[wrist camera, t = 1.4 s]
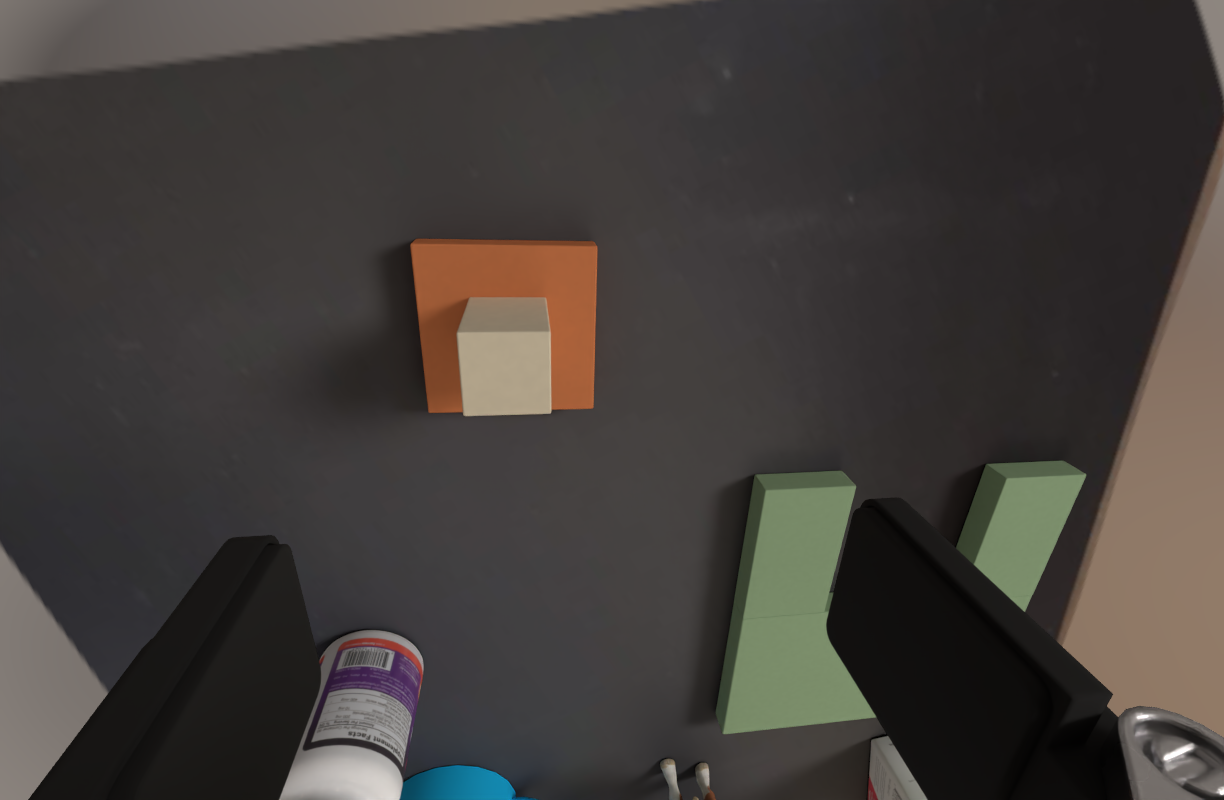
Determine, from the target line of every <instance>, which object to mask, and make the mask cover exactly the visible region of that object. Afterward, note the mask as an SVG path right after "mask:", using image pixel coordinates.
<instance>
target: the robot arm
mask: <svg viewBox="0 0 1224 800" xmlns="http://www.w3.org/2000/svg"><path fill="white" fill-rule="evenodd" d="M826 630H827V635H828V638H829V641H830V643H831V645H832V646H833V648H834V650H835V651H836V653H837V654H838V656H839V658H840V659H841V661H842V662H843V664H844V666H845V667H846V669H847V671H848V672H849V674H850V675H851V677H852V679H853V680H854V682H855V683H856V685H857V687H858V688H859V690H860V692H861V693H862V695H863V696H864V698H865V700H866V701H867V703H868V704H869V706H870V708H871V709H872V711H873V713H874V714H875V716H876V717H877V719H878V721H879V722H880V724H881V725H882V727H883V729H884V730H885V732H886V734H887V735H888V737H889V738H890V740H891V742H892V743H893V745H894V746H895V748H896V750H897V751H898V753H899V755H900V756H901V758H902V759H903V761H904V763H905V764H906V766H907V767H908V769H909V771H910V772H911V774H912V776H913V777H914V779H915V780H916V782H917V784H918V785H919V787H920V788H921V790H922V792H923V793H924V795H925V797H926V798H927V800H1224V738H1223V737H1222V736H1220V735H1218V734H1217V733H1215V732H1214V731H1212V730H1210V729H1209V728H1207V727H1205V726H1204V725H1202V724H1200V723H1197V722H1195V721H1193V720H1191V719H1189V718H1186V717H1184V716H1182V715H1180V714H1177V713H1173V712H1170V711H1167V710H1163V709H1160V708H1155V707H1144V706H1137V707H1133V708H1129V709H1126V710H1125V711H1124V712H1123V713H1122V714H1121V715H1120V716H1119V717H1117V716H1116V715H1115V714H1114V713H1113V712H1112V711H1111V710H1110V709H1109V708H1108V707H1107V704H1108V702H1109V701H1110V699H1111V697H1112V695H1113V694H1112V693H1111V692H1110V691H1109V690H1108V689H1107V688H1106V687H1105V686H1104V685H1103V684H1102V683H1101V682H1100V681H1098V680H1097V679H1096V678H1095V677H1094V676H1093V675H1092V674H1091V673H1090V672H1089V671H1088V670H1087V669H1086V668H1084V667H1083V666H1082V665H1081V664H1080V663H1079V662H1078V661H1077V660H1076V659H1075V658H1074V657H1073V656H1072V655H1071V654H1069V653H1068V652H1067V651H1066V650H1065V649H1064V648H1063V647H1062V646H1061V645H1060V644H1059V643H1058V642H1057V641H1055V640H1054V639H1053V638H1052V637H1051V636H1050V635H1049V634H1048V633H1047V632H1046V631H1045V630H1044V629H1043V628H1041V627H1040V626H1039V625H1038V624H1037V623H1036V622H1035V621H1034V620H1033V619H1032V618H1031V617H1030V616H1029V615H1027V614H1026V613H1025V612H1024V611H1023V610H1022V609H1021V608H1020V607H1019V606H1018V605H1017V604H1016V603H1015V602H1013V601H1012V600H1011V599H1010V598H1009V597H1008V596H1007V595H1006V594H1005V593H1004V592H1003V591H1002V590H1001V589H999V588H998V587H997V586H996V585H995V584H994V583H993V582H992V581H991V580H990V579H989V578H988V577H987V576H986V575H984V574H983V573H982V572H981V571H980V570H979V569H978V568H977V567H976V566H975V565H974V564H973V563H972V562H970V561H969V560H968V559H967V558H966V557H965V556H964V555H963V554H962V553H961V552H960V551H959V550H958V549H956V548H955V547H954V546H953V545H952V544H951V543H950V542H949V541H948V540H947V539H946V538H945V537H944V536H942V535H941V534H940V533H939V532H938V531H937V530H936V529H935V528H934V527H933V526H932V525H931V524H930V523H928V522H927V521H926V520H925V519H924V518H923V517H922V516H921V515H920V514H919V513H918V512H917V511H916V510H914V509H913V508H912V507H911V506H910V505H909V504H908V503H907V502H906V501H904V500H903V499H901V498H881V499H868V500H865V501H864V502H863V503H862V505H861V507H860V508H858V509H856V510H855V511H854V513H853V516H852V520H851V524H850V528H849V532H848V536H847V540H846V544H845V548H844V552H843V556H842V560H841V564H840V568H839V572H838V576H837V580H836V584H835V588H834V592H833V597H832V601H831V605H830V609H829V613H828V617H827V621H826ZM320 685H321V667H320V663H319V659H318V655H317V651H316V647H315V643H314V639H313V635H312V631H311V627H310V623H309V619H308V615H307V611H306V607H305V603H304V599H303V595H302V591H301V587H300V583H299V579H298V575H297V571H296V567H295V563H294V559H293V555H292V551H291V548H290V547H289V546H288V545H287V544H279V542H278V540H277V539H276V537H275V536H272V535H268V536H251V537H235V538H231V539H228V540H227V541H226V542H225V543H224V544H223V546H222V547H221V548H220V550H219V551H218V552H217V554H216V555H215V556H214V558H213V559H212V560H211V562H210V563H209V565H208V566H207V567H206V569H205V570H204V571H203V573H202V574H201V575H200V577H199V578H198V579H197V581H196V582H195V583H194V585H193V586H192V587H191V589H190V590H189V591H188V593H187V594H186V595H185V597H184V598H183V599H182V601H181V602H180V603H179V605H178V606H177V607H176V609H175V610H174V611H173V613H172V614H171V615H170V617H169V618H168V619H167V621H166V622H165V623H164V625H163V626H162V627H161V629H160V630H159V631H158V633H157V634H156V635H155V637H154V638H153V639H151V640H150V641H149V642H148V643H147V644H146V645H145V646H144V647H143V648H142V650H141V651H140V652H139V653H138V655H137V656H136V657H135V659H134V660H133V661H132V663H131V664H130V665H129V667H128V668H127V669H126V671H125V672H124V673H123V675H122V676H121V677H120V679H119V680H118V681H117V683H116V684H115V685H114V687H113V688H112V689H111V691H110V692H109V693H108V695H107V696H106V697H105V699H104V700H103V701H102V703H101V704H100V705H99V707H98V708H97V709H96V710H95V712H94V713H93V714H92V716H91V717H90V719H89V720H88V721H87V723H86V724H85V725H84V726H83V728H82V729H81V731H80V732H79V733H78V734H77V736H76V737H75V738H74V740H73V741H72V742H71V744H70V745H69V746H68V748H67V749H66V750H65V752H64V753H63V754H62V756H61V757H60V758H59V760H58V761H57V762H56V764H55V765H54V766H53V767H52V769H51V770H50V771H49V773H48V774H47V775H46V777H45V778H44V780H43V781H42V782H41V783H40V785H39V786H38V787H37V789H36V790H35V791H34V793H33V794H32V795H31V797H30V798H29V799H28V800H279V799H280V796H281V794H282V791H283V788H284V786H285V783H286V780H287V778H288V775H289V772H290V769H291V767H292V764H293V761H294V759H295V756H296V753H297V751H298V748H299V745H300V742H301V740H302V737H303V734H304V732H305V729H306V726H307V724H308V721H309V718H310V716H311V713H312V710H313V707H314V705H315V702H316V699H317V697H318V694H319V690H320Z"/></svg>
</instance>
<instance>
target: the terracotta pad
mask: <svg viewBox="0 0 1224 800" xmlns="http://www.w3.org/2000/svg"><path fill="white" fill-rule="evenodd" d="M410 248H411V257H412V266H413V275H414V284H415V294H416V303H417V312H418V321H419V330H420V339H421V348H422V357H423V366H424V376H425V385H426V394H427V403H428V411H429V413H446V412H463V415H464V416H485V415H521V414H550V413H551V410H558V409H592V408H593V404H594V363H595V322H596V282H597V246H596V244H595V243H594V242H593V241H539V240H471V239H415V240H414V241H413V242H412V243H411V244H410Z"/></svg>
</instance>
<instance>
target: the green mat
mask: <svg viewBox="0 0 1224 800" xmlns="http://www.w3.org/2000/svg"><path fill="white" fill-rule="evenodd" d="M1085 477H1086V474H1085V473H1083V472H1081V471H1080V470H1078V469H1076V468H1075V467H1073V466H1071V465H1070V464H1068V463H1066V462H1065V461H1041V462H1019V463H997V464H986V466H985V468H984V471H983V474H982V477H981V479H980V482H979V485H978V488H977V491H976V493H975V496H974V499H973V502H972V504H971V507H970V510H969V513H968V516H967V518H966V521H965V524H964V527H963V529H962V532H961V535H960V538H959V541H958V543H957V546H956V549H958V550H959V551H960V552H961V553H962V554H963V555H964V556H965V557H966V558H967V559H968V560H969V561H970V562H972V563H973V564H974V565H975V566H976V567H977V568H978V569H979V570H980V571H981V572H982V573H983V574H984V575H986V576H987V577H988V578H989V579H990V580H991V581H992V582H993V583H994V584H995V585H996V586H997V587H998V588H999V589H1001V590H1002V591H1003V592H1004V593H1005V594H1006V595H1007V596H1008V597H1009V598H1010V599H1011V600H1012V601H1013V602H1015V603H1016V604H1017V605H1018V606H1019V607H1020V608H1021V609H1022V610H1023V611H1024V612H1025V610H1026V607H1027V605H1028V603H1029V601H1030V599H1031V596H1032V595H1033V593H1034V591H1035V588H1036V586H1037V584H1038V582H1039V579H1040V577H1041V575H1042V573H1043V571H1044V568H1045V566H1046V564H1047V562H1048V559H1049V557H1050V555H1051V553H1052V551H1053V548H1054V546H1055V544H1056V542H1057V539H1058V537H1059V535H1060V533H1061V531H1062V528H1063V526H1064V524H1065V522H1066V519H1067V517H1068V515H1069V513H1070V511H1071V508H1072V506H1073V504H1074V502H1075V499H1076V497H1077V495H1078V493H1079V491H1080V488H1081V486H1082V484H1083V482H1084V479H1085ZM855 489H856V485H855V484H854V483H853V482H852V481H851V480H850V479H849V478H848V477H847V476H846V475H845V474H844V473H843V472H842V471H822V472H800V473H778V474H756V475H755V476H754V482H753V488H752V494H751V500H750V506H749V512H748V518H747V524H746V530H745V536H744V543H743V549H742V555H741V561H740V567H739V573H738V579H737V585H736V591H735V597H734V604H733V611H732V617H731V623H730V629H729V635H728V641H727V647H726V653H725V659H724V665H723V671H722V677H721V683H720V689H719V696H718V702H717V708H716V716H717V719H718V722H719V725H720V728H721V731H722V734H731V733H740V732H749V731H758V730H767V729H776V728H785V727H794V726H803V725H812V724H821V723H830V722H839V721H847V720H856V719H865V718H874V717H876V716H875V714H874V713H873V711H872V709H871V708H870V706H869V704H868V703H867V701H866V700H865V698H864V696H863V695H862V693H861V692H860V690H859V688H858V687H857V685H856V683H855V682H854V680H853V679H852V677H851V675H850V674H849V672H848V671H847V669H846V667H845V666H844V664H843V662H842V661H841V659H840V658H839V656H838V654H837V653H836V651H835V650H834V648H833V646H832V645H831V643H830V641H829V638H828V635H827V630H826V621H827V617H828V613H829V609H830V605H831V601H832V597H833V592H831V593H829V591H830V587H831V583H832V579H833V575H834V572H835V568H836V564H837V560H838V556H839V552H840V548H841V544H842V540H843V536H844V532H845V528H846V524H847V520H848V516H849V513H850V509H851V505H852V501H853V497H854V493H855Z"/></svg>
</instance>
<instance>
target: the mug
mask: <svg viewBox="0 0 1224 800" xmlns="http://www.w3.org/2000/svg"><path fill="white" fill-rule="evenodd" d="M399 800H539V799H534V798H529V797H516V792H515V790H514V789H513V787H512V786H511V784H510V783H509V781H508V780H506V779H505V778H503V777H502V776H500V775H499V774H497V773H496V772H493V771H489V770H486V769H483V768H480V767H473V766H460V765H455V766H447V767H439V768H434V769H431V770H428V771H425V772H422V773H419V774H416V775H415V776H413V777H411V778H410V779H408V780H407V781H405V782H403V787H402V791H401V796H400V799H399Z"/></svg>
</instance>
